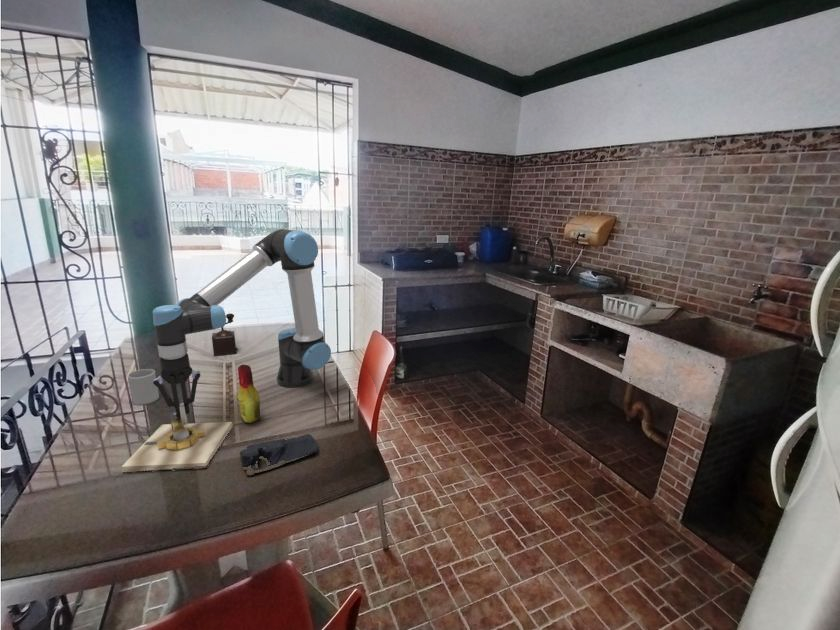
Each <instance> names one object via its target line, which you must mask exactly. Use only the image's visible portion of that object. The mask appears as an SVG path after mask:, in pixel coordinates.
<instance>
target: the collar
mask: <svg viewBox="0 0 840 630" xmlns="http://www.w3.org/2000/svg"><path fill="white" fill-rule="evenodd" d="M169 417H170V418H169V419H170V424H171V426H172V429H173V430H174V431H172V432H171V433H169V434H168V435H167V436H165V437H164V440H161V441H158V442H157V445H158V449H160V448H163V447H166V449H172V450H179V449H183V448H186V447H189V446H190V445H191V446H192V445H193V444H194V443H195V442H196V441H198V440H199V437H201V436H204V435H205V431H204V429H200V430H196V428H184V426H183V422H182V420H181V415H180V416H177V415H176V410H174V411H172V412H169ZM180 430H188V432H189V436H190V437H189V438H187V439H184V440H181V441H173V440H174V437H173V434H174V433H175V432H177V431H180Z"/></svg>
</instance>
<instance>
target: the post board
mask: <svg viewBox="0 0 840 630" xmlns="http://www.w3.org/2000/svg"><path fill="white" fill-rule="evenodd" d="M183 426H184V428H196V430H200V429H204V431H205V435H204V436H201V437H199V440H198V441H196V442H195V443H194V444H193V445H192V446H191V445H190V446H189V447H186V448H183V449H179V450H172V449H166V447H163V448H160V449H158V445H157V442H158V441H161V440H164V437H165V436H167V435H168V434H169V433H171V432H172V431H174V430H173V429H172V426H171V423H168V424H165V423H164V424H161V425H160V426H159V427H158V428H157V429H156V430H155V431H154V432H153V433H152V435H151V436H150V437H148V439H146V441H145V442H144V443H143V444H142V445H141V446H140V447H138V449H137V450H136V451H135V452H134V453H133V454H132V455H131V456H130V457H129V458H128V459H127V460H126V461H125V462H124V463H123V464H122V465H121V471H122V473H123V472H132V471H143V470H144V471H145V470H147V471H148V470H160V469H173V468H184V467H195V466H206V465H207V464H208V462H209V461H210V459H211V458H212V456H213V455H214V453H215V452H216V451H217V449H218V448H219V446H220V445H221V443H222V442H223V440H224V439H225V437H226V436H227V437H228V435H229V434H230V432H231V431H230V430H232V429H231V428H233V426H234V425H233V421H226V422H225V421H224V422H222V421H221V422H197V423H195V422H194V423H189V422H188V423H187V425H183ZM229 431H230V432H229ZM228 433H229V434H228ZM227 434H228V435H227ZM173 437H174V440H173V441H181V440H184V439H187V438H189V437H190V436H189V432H188V430H180V431H177V432H175V433H174V434H173ZM227 437H226V438H227ZM225 440H226V439H225ZM225 440H224V441H225ZM223 443H224V442H223ZM223 443H222V444H223ZM221 446H222V445H221ZM221 446H220V447H221ZM219 449H220V448H219ZM217 452H218V451H217ZM132 473H133V472H132Z"/></svg>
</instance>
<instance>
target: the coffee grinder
mask: <svg viewBox="0 0 840 630" xmlns="http://www.w3.org/2000/svg"><path fill="white" fill-rule="evenodd" d="M225 315H226V320H227V321H226V324H225V325H228V324H232V323H233V322H234V320H233V319H234V318H235V314H233V313H227V314H225ZM220 329H221V330H219V331H218V332H212V335H211V342H212V351H213V357H222V356H231V355H236V354H238V353H237V351H238V347H237V345H236V337H235V335H236V334H235V331H234V330H227V329H224V327H221V328H220Z"/></svg>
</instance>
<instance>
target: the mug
mask: <svg viewBox="0 0 840 630" xmlns="http://www.w3.org/2000/svg"><path fill="white" fill-rule="evenodd" d="M155 378H157V376H156V371H155V369H152V368H145V369H144V368H143V369H138V370H134V371H132V372H129V373H128V374H127V380H128V386H129V390H130V396H131V397H130V399H131V402H132V404H133V405H136V406H143V405H149V404H151V403H155V402H156V401H157V400H159V398H160V393H159V392H160V391H159V388H158V387H157V386H156V385H154V384H153V381H154V379H155Z"/></svg>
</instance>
